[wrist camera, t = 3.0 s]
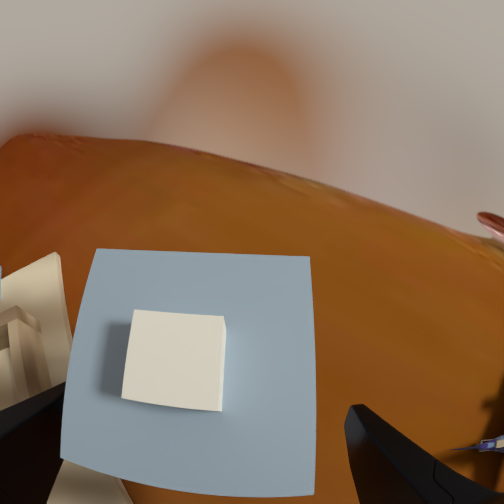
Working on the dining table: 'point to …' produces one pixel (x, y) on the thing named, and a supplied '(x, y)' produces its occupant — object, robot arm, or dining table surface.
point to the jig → (45, 366)
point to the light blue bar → (0, 283)
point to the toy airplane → (489, 445)
